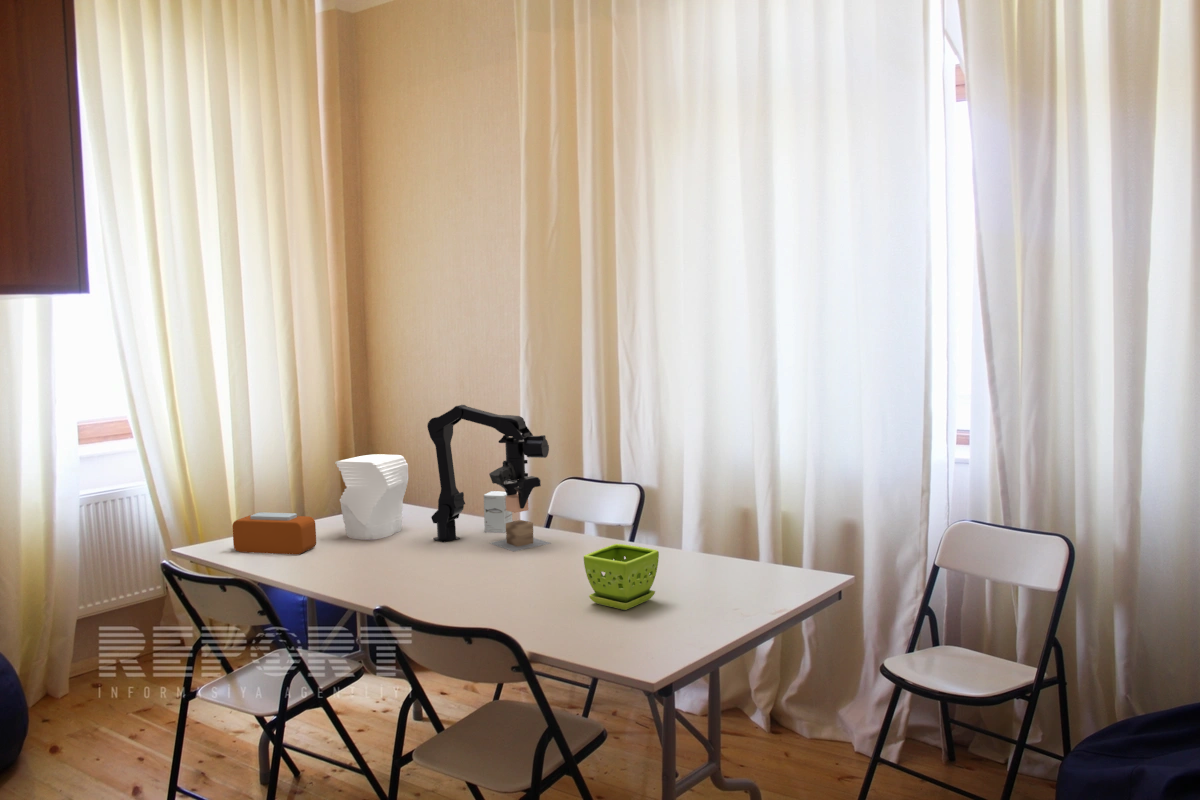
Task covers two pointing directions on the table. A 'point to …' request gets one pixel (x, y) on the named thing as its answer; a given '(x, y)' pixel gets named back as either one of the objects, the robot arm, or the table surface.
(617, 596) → the flower pot
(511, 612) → the table surface
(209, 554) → the table surface
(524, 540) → the block
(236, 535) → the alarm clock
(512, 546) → the felt mat
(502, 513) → the supplement box
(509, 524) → the tower top
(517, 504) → the terracotta block
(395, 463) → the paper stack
